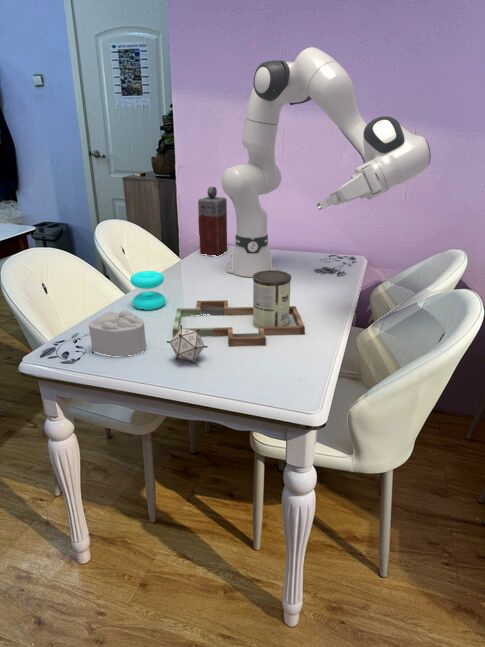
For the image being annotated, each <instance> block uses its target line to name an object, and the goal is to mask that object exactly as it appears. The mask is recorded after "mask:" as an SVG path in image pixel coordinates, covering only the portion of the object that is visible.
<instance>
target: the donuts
mask: <svg viewBox="0 0 485 647" xmlns="http://www.w3.org/2000/svg"><path fill="white" fill-rule="evenodd" d="M164 280H165V277H164V275H163V273H161V272H159V271H154V270H143V271H138V272H135V273H133V274H132V275H131V277H130V280H129V281H130V283H131V285H132V286H133V287H135V288H137V289H140V290H141V289H142V290H149V289H151V290H152V289H155V288H157V287H160V286H161V285H162V284H163V283H164ZM166 302H167V301H166V296H164V294H163V293H160V292H159V291H143V292H140V293H137V295H135V296H134V297H133V299H132V305H133V306H134V307H135V308H136V309H138V310H141V309H144V310H143V311H153V310H157V308H158V309H160V308H162V307H163V306H164V305H165V304H166Z"/></svg>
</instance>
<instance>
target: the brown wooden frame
mask: <svg viewBox="0 0 485 647" xmlns="http://www.w3.org/2000/svg"><path fill="white" fill-rule="evenodd" d="M200 313H201V314H202V315H203V314H206V315H207V314H210V315H213V316H224V315H226V316H253V306H249V307H248V306H246V307H245V306H243V307H241V306H240V307H238V306H237V307H229V301H228V300H225V299H224V300H222V299H221V300H197V301H196V306H195V307H194V308H193V307H192V308H191V307H189V308H188V307H186V308H176V313H175V317H174V322H173V326H172V338H173V337H174V336H175V335H176V334H177V333H178V331H179V330H180V329H181V328H180V327H179V326H180V325H181V321H180V320H182V317H192V316H191V315H200V316H201V314H200ZM289 315H292V318H293V320H294V323H295V325H289V326H270V327H259V329H258V332H255V333H254V332H253V333H252V332H251V333H250V332H249V333H248V332H247V333H246V332H245V333H234V331H233V327H232V326H231V327H228V326H227V327H226V326H225V327H192V328H187V327H185V328H184V327H183V328H184V329H189V330H194V331H197V330H198V329H200V331H198V333H199V335H200V336H214V337H227V340H228V344H229V345H228V347H250V346H251V347H252V346H253V347H254V346H255V347H257V346H262V347H263V346H266V344H267V343H266V342H267V338H266V336H284V335H285V336H292V335H293V336H295V335H296V336H298V335H305V330H306V329H305V328H306V326H305V324H304V322H303V320H302V317H301V316H300V314H299V311H298V309H297V306H296V305H295V306H293V305H292V306H291V305H290V307H289Z"/></svg>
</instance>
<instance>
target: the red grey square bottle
mask: <svg viewBox="0 0 485 647" xmlns="http://www.w3.org/2000/svg"><path fill="white" fill-rule="evenodd" d="M217 193H218V190H217V187H216V186H208V188H207V196H206V197H203V198H199V199H198V200H197V207H198V209H197V210H198V211H197V212H198V218H197V220H198V221H197V222H198V236H199V254H200V253H201V254H207V255H216V256H219V255H221V254H223V253H224V252H226V251H227V252H228V213H227V212H228V209H227V208H228V205H227V198H226V197H218V196H217ZM223 255H224V254H223Z"/></svg>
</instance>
